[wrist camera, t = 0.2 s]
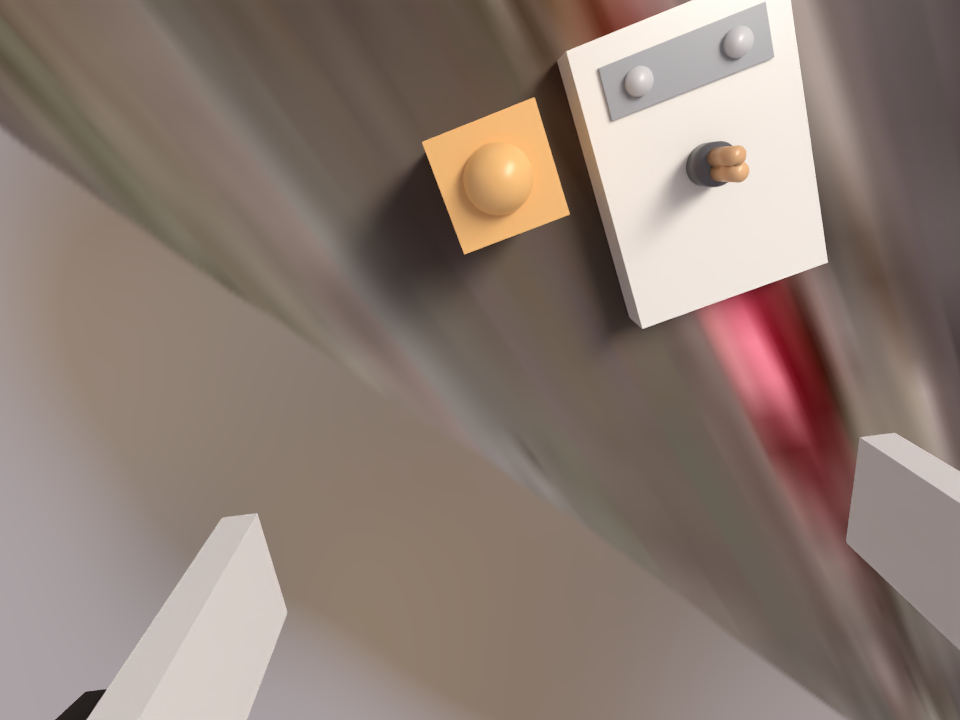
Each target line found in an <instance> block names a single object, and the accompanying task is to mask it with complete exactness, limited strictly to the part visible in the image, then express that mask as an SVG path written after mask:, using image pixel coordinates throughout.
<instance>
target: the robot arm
mask: <svg viewBox="0 0 960 720" xmlns="http://www.w3.org/2000/svg"><path fill="white" fill-rule="evenodd" d="M846 543H847V544H848V545H849V546H851V547H852V548H853V549H854V550H855V551H856V552H857V553H858V554H859V555H860V556H861V557H862V558H863V559H864V560H865V561H866V562H867V563H868V564H869V565H871V566H872V567H873V568H874V569H875V570H876V571H877V572H878V573H879V574H880V575H881V576H882V577H883V578H884V579H885V580H886V581H887V582H888V583H889V584H890V585H892V586H893V587H894V588H895V589H896V590H897V591H898V592H899V593H900V594H901V595H902V596H903V597H904V598H905V599H906V600H907V601H908V602H909V603H910V604H912V605H913V606H914V607H915V608H916V609H917V610H918V611H919V612H920V613H921V614H922V615H923V616H924V617H925V618H926V619H927V620H928V621H929V622H930V623H932V624H933V625H934V626H935V627H936V628H937V629H938V630H939V631H940V632H941V633H942V634H943V635H944V636H945V637H946V638H947V639H948V640H949V641H950V642H951V643H953V644H954V645H955V646H956V647H957V648H958V649H959V650H960V471H958V470H956V469H955V468H953V467H951V466H950V465H948V464H946V463H945V462H943V461H941V460H940V459H938V458H936V457H935V456H933V455H931V454H930V453H928V452H926V451H925V450H923V449H921V448H920V447H918V446H916V445H914V444H913V443H911V442H909V441H908V440H906V439H904V438H903V437H901V436H899V435H898V434H896V433H890V434H882V435H874V436H866V437H860V440H859V448H858V455H857V463H856V470H855V478H854V485H853V493H852V500H851V508H850V515H849V523H848V530H847V538H846ZM286 615H287V610H286V607H285V603H284V600H283V596H282V593H281V590H280V586H279V583H278V580H277V577H276V573H275V570H274V567H273V563H272V560H271V557H270V553H269V550H268V547H267V543H266V540H265V537H264V534H263V530H262V527H261V524H260V520H259V517H258V514H257V513H255V514H247V515H240V516H232V517H224V518H222V519H221V520H220V522H219V523H218V525H217V526H216V528H215V529H214V531H213V532H212V534H211V535H210V536H209V538H208V539H207V541H206V543H205V544H204V546H203V547H202V548H201V550H200V551H199V553H198V554H197V556H196V558H195V559H194V560H193V562H192V563H191V565H190V566H189V568H188V569H187V571H186V572H185V574H184V575H183V577H182V578H181V580H180V581H179V583H178V584H177V586H176V587H175V589H174V590H173V592H172V593H171V595H170V596H169V598H168V599H167V601H166V602H165V604H164V605H163V607H162V608H161V610H160V611H159V613H158V614H157V616H156V617H155V618H154V620H153V622H152V623H151V625H150V626H149V627H148V629H147V631H146V632H145V633H144V635H143V636H142V638H141V639H140V641H139V642H138V644H137V645H136V647H135V648H134V650H133V651H132V653H131V654H130V656H129V657H128V659H127V660H126V662H125V663H124V665H123V666H122V668H121V669H120V671H119V672H118V674H117V675H116V677H115V678H114V680H113V681H112V683H111V684H110V686H109V687H108V689H105V690H97V691H89V692H85V693H84V694H83V695H82V696H81V697H79V698H78V699H77V700H76V701H75V702H74V703H73V704H72V705H71V706H70V707H69V708H68V709H66V710H65V711H64V712H63V713H62V714H61V715H60V716H59V717H58V718H57V719H56V720H247V718H248V716H249V713H250V710H251V707H252V705H253V702H254V700H255V697H256V695H257V692H258V688H259V686H260V684H261V681H262V679H263V676H264V673H265V671H266V668H267V665H268V663H269V660H270V657H271V655H272V652H273V650H274V647H275V644H276V642H277V639H278V636H279V634H280V631H281V629H282V626H283V623H284V621H285V618H286Z"/></svg>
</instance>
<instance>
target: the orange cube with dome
mask: <svg viewBox="0 0 960 720" xmlns="http://www.w3.org/2000/svg"><path fill="white" fill-rule="evenodd" d="M422 144H423V146H424V149H425V152H426V154H427V157H428V160H429V162H430V165H431V168H432V170H433V173H434V176H435V178H436V181H437V183H438V186H439V189H440V191H441V194H442V197H443V199H444V202H445V205H446V207H447V210H448V213H449V215H450V218H451V221H452V223H453V226H454V229H455V231H456V234H457V237H458V239H459V242H460V244H461V247H462V250H463V252H464V254H467V253H470V252H472V251H475V250H478V249H480V248H483V247H486V246H488V245H491V244H493V243H496V242H499V241H501V240H504V239H507V238H509V237H512V236H515V235H517V234H520V233H522V232H525V231H528V230H530V229H533V228H536V227H538V226H541V225H543V224H546V223H549V222H551V221H554V220H557V219H559V218H562V217H565V216H567V215H570V213H569V210H568V206H567V203H566V200H565V197H564V193H563V190H562V187H561V183H560V180H559V177H558V173H557V170H556V167H555V163H554V160H553V157H552V153H551V150H550V147H549V143H548V140H547V137H546V133H545V130H544V127H543V123H542V120H541V117H540V113H539V110H538V107H537V103H536V100H535V97H534V98H531V99H529V100H526V101H524V102H521V103H519V104H516V105H514V106H511V107H509V108H506V109H504V110H501V111H499V112H496V113H494V114H491V115H489V116H486V117H484V118H481V119H479V120H476V121H474V122H471V123H469V124H466V125H464V126H461V127H459V128H456V129H454V130H451V131H449V132H446V133H443V134H441V135H438V136H436V137H433V138H431V139H428V140H426V141H423V142H422Z"/></svg>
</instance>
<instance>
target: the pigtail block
mask: <svg viewBox="0 0 960 720" xmlns="http://www.w3.org/2000/svg"><path fill="white" fill-rule="evenodd" d="M557 63H558V66H559V70H560V73H561V77H562V81H563V84H564V88H565V91H566V95H567V98H568V102H569V105H570V109H571V113H572V116H573V120H574V123H575V127H576V130H577V134H578V137H579V141H580V144H581V148H582V152H583V155H584V159H585V162H586V166H587V169H588V173H589V176H590V180H591V184H592V187H593V191H594V194H595V198H596V201H597V205H598V208H599V212H600V216H601V219H602V223H603V226H604V230H605V233H606V237H607V240H608V244H609V247H610V251H611V255H612V258H613V262H614V265H615V269H616V272H617V276H618V279H619V283H620V287H621V290H622V294H623V297H624V301H625V304H626V308H627V311H628V315H629V318H630V319H631V320H633V321H634V322H635V323H636V324H637V325H638V326H640V327H641V328H642V329H644V328H647V327H649V326H652V325H655V324H658V323H660V322H663V321H666V320H669V319H672V318H674V317H677V316H680V315H683V314H686V313H688V312H691V311H694V310H697V309H699V308H702V307H705V306H708V305H711V304H713V303H716V302H719V301H722V300H724V299H727V298H730V297H733V296H736V295H738V294H741V293H744V292H747V291H750V290H752V289H755V288H758V287H761V286H763V285H766V284H769V283H772V282H775V281H777V280H780V279H783V278H786V277H789V276H791V275H794V274H797V273H800V272H802V271H805V270H808V269H811V268H814V267H816V266H819V265H822V264H825V263H828V260H827V253H826V246H825V239H824V232H823V225H822V218H821V211H820V204H819V197H818V190H817V183H816V176H815V169H814V162H813V155H812V148H811V141H810V134H809V127H808V120H807V113H806V105H805V98H804V91H803V84H802V77H801V70H800V63H799V56H798V49H797V42H796V35H795V28H794V21H793V14H792V7H791V0H692V1H690V2H687V3H685V4H682V5H680V6H677V7H675V8H672V9H670V10H667V11H665V12H662V13H660V14H657V15H655V16H652V17H650V18H647V19H645V20H643V21H640V22H638V23H635V24H633V25H630V26H628V27H625V28H623V29H620V30H618V31H615V32H613V33H610V34H608V35H605V36H603V37H601V38H598V39H596V40H593V41H591V42H588V43H586V44H583V45H581V46H578V47H576V48H573V49H571V50H568V51H566V52H565V53H564V54H563V55H562V56H561V57H560V58H559V59H558V60H557Z"/></svg>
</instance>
